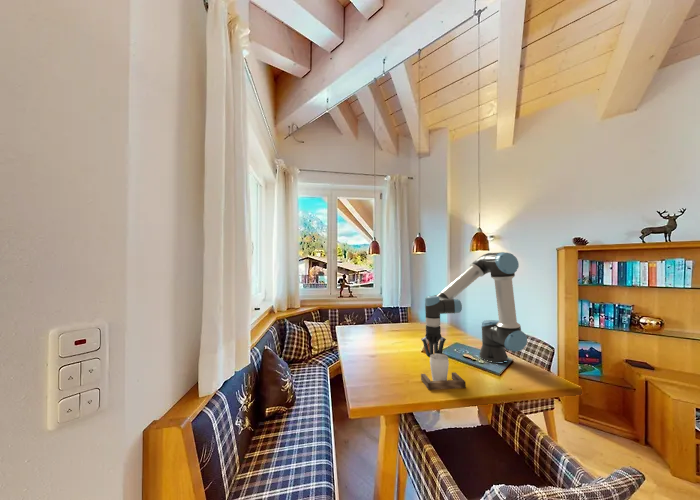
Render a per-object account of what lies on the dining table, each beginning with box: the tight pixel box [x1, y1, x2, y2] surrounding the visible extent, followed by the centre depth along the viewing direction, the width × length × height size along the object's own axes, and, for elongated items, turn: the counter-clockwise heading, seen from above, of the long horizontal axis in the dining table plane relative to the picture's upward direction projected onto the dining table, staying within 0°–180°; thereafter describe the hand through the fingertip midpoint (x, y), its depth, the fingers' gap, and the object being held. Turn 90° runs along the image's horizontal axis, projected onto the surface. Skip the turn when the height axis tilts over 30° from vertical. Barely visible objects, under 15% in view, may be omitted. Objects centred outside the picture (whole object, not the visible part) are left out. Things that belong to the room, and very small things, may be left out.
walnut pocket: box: [420, 371, 466, 391], centre depth 126 cm, size 18×10×3 cm, turn 94°
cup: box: [429, 353, 450, 381], centre depth 129 cm, size 9×9×12 cm
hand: (434, 369), depth 137 cm, fingers closed
